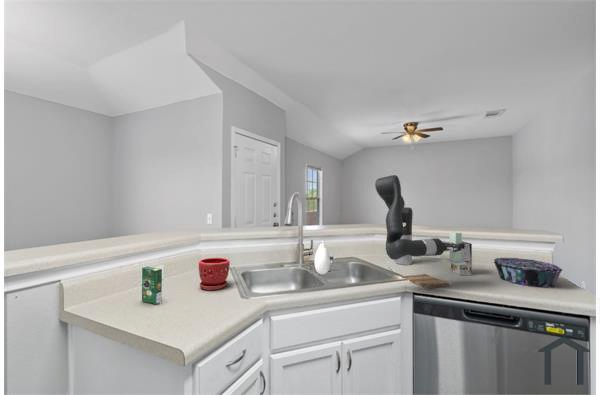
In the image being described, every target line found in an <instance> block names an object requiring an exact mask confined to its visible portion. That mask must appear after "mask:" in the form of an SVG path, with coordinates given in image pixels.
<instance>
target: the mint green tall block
mask: <svg viewBox="0 0 600 395" xmlns="http://www.w3.org/2000/svg"><path fill="white" fill-rule="evenodd" d="M462 236H463V232H458V231H450V232H449V242H450V243H454V244H462V241H463V239H462V238H463V237H462ZM461 254H462V249H461V251H457V252H453V251H449V258H447V259H444V262H446V263H449V264H450V265H451V264H454V265H466V262H463V261H461Z"/></svg>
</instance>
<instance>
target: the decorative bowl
mask: <svg viewBox="0 0 600 395" xmlns="http://www.w3.org/2000/svg"><path fill="white" fill-rule="evenodd" d="M493 263H494V265H495V268H496V271H497V273H498V275H499V277H500V280H503V281H506V282H508V283H512V284H515V285H516V284H517V285H520V286H527V287H532V288H533V287H534V288H535V287H536V288H549V286H550V288H552V287H553V288H554V286H555V284H556V282H557V280H558V278H559V276H560V274H561V272H563V269H562V268H561V267H560V266H559V265H556V264H554V263H550V262H545V261H542V260H541V261H540V260H536V259H528V258H519V257H505V256H504V257H496V258H494V260H493Z"/></svg>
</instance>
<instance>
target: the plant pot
mask: <svg viewBox="0 0 600 395" xmlns="http://www.w3.org/2000/svg"><path fill="white" fill-rule="evenodd" d="M230 262H231V261H230V259H228V258H223V257H207V258H203V259H200V260H199V261H198V273H199V278H200V281H201V282H199V287H200V288H201V289H204V290H205V291H206V290H208V291H213V290H214V291H215V290H220V289H223V288H224V287H226V286H227V284H228V282H227V278H228V276H229V273H230V272H229V271H230V265H231V264H230Z"/></svg>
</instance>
